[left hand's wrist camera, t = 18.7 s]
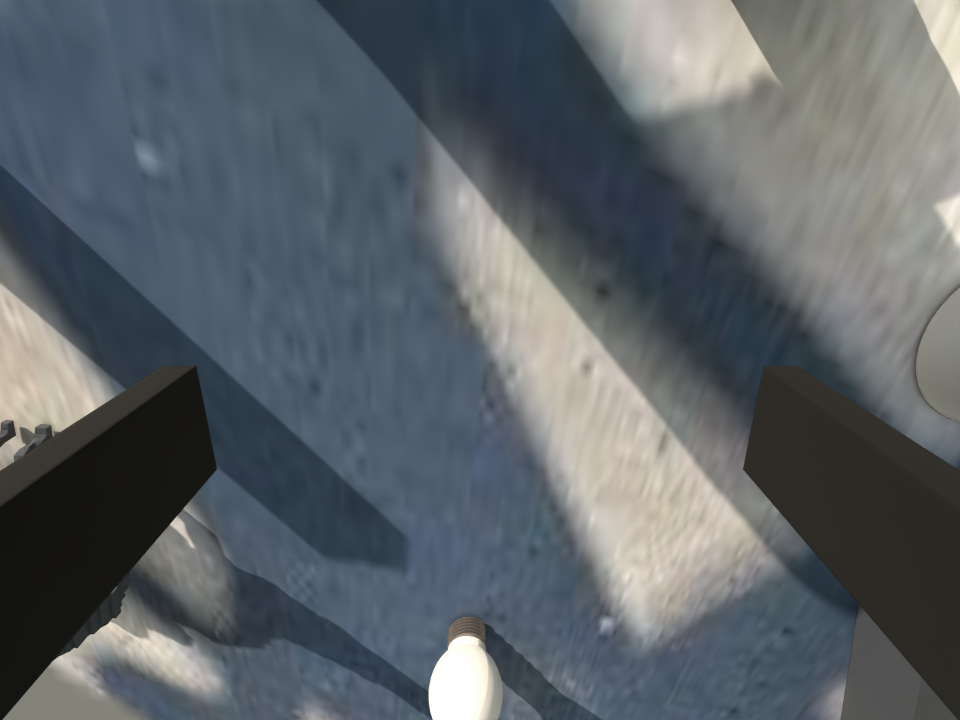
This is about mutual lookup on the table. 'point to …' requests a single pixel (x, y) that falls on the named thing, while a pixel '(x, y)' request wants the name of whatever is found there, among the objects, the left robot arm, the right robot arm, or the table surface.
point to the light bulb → (466, 676)
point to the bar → (885, 681)
